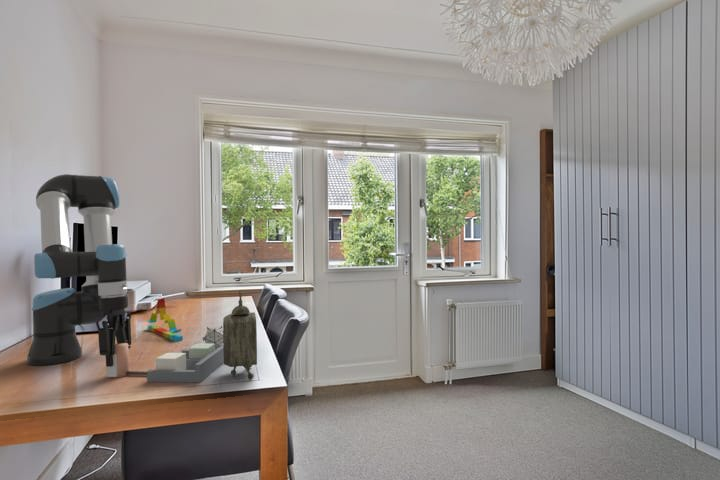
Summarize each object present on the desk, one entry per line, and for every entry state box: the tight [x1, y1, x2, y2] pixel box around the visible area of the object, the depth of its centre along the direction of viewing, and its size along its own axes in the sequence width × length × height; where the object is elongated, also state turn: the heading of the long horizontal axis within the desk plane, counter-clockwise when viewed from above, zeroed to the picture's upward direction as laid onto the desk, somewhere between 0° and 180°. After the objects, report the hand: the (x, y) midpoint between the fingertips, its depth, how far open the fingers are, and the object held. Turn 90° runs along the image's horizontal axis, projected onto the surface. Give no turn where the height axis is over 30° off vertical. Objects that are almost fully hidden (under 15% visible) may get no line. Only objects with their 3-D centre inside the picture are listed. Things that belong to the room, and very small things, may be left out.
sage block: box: [188, 342, 216, 359], centre depth 137 cm, size 6×6×6 cm
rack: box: [146, 345, 224, 383], centre depth 132 cm, size 16×22×5 cm
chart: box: [147, 298, 184, 342], centre depth 177 cm, size 30×3×15 cm, turn 45°
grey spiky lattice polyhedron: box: [202, 325, 223, 349], centre depth 155 cm, size 9×8×10 cm
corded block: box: [114, 343, 186, 378], centre depth 126 cm, size 21×6×9 cm, turn 85°
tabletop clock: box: [222, 290, 258, 380], centre depth 126 cm, size 14×9×25 cm, turn 17°
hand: (117, 373), depth 127 cm, fingers closed on corded block, 4 cm apart
